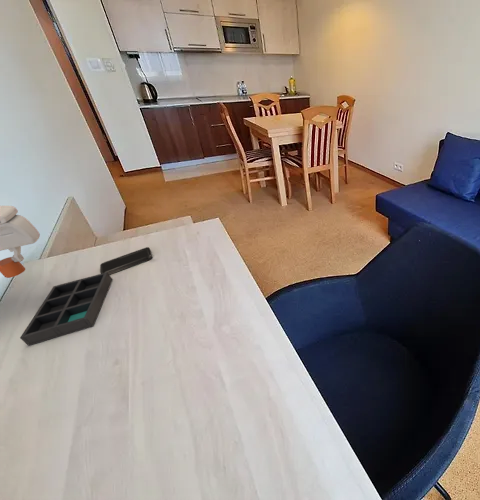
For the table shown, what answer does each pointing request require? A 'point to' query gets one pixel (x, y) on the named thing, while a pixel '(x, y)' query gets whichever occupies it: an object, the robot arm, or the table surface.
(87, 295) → the grid
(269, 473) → the table surface
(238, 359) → the table surface
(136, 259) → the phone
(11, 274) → the orange cylinder
